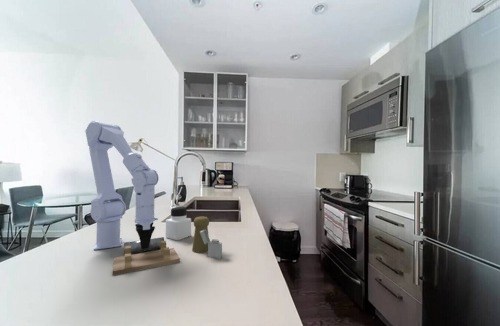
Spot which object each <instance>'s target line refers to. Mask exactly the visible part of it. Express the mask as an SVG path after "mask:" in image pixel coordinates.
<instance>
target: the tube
mask: <svg viewBox="0 0 500 326" xmlns="http://www.w3.org/2000/svg"><path fill="white" fill-rule="evenodd" d="M160 241H165V236H162V237H156V238H151V240H150V245H149V248H146V249H142V248H141V244H140V239H139V240H133V241H127V242H126V241H125V242H123V243H124V244H123V245H124V246H123V254H124V255H125V246H131V254H134V253H136V254H137V253H143V252H149V251H155V250H160Z"/></svg>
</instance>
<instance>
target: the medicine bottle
mask: <svg viewBox="0 0 500 326" xmlns="http://www.w3.org/2000/svg"><path fill="white" fill-rule="evenodd" d="M187 214H188V213H187V207H185V206H183V205H182V206H181V205H180V206H173V207H172V208H171V209H170V218H168V219H166V220H165V238H166V239H170V240H173V241H174V240H175V241H180V240H183V239H186V238H189V237H191V236H192V218H190V217H187ZM188 236H189V237H188Z"/></svg>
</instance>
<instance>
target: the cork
mask: <svg viewBox="0 0 500 326" xmlns="http://www.w3.org/2000/svg"><path fill="white" fill-rule="evenodd" d="M193 219H194V220H193V225H194V227H195V228H194V232H193V233H194V235H193V241H192V248H191V251H192V252H193V253H197V254H200V253H202V254H203V253H208V243H207V244H204V242H203V239H202V237H201V234H200V232H201V231H203V230H205V229H206V231H207V234H208V236H209V228H208V226H209V225H210V220H209V218H208V217H207V216H196V217H195V218H193ZM209 237H210V236H209Z"/></svg>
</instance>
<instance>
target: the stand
mask: <svg viewBox="0 0 500 326" xmlns="http://www.w3.org/2000/svg"><path fill="white" fill-rule="evenodd" d="M180 262H181V258H180V256H179V254H178V253H177V251H176V250H175V248H174V247H170V246H169V247H167V241H166V240H164V241H160V249H157V250H151V251H145V252H139V253H136V254H134V253H133V254H132V253H131V246H125V254H124V255H122V256H121V255H120V256H117V257H114V258H113V265H112V271H111V273H112V276H116V275H120V274H126V273H130V272H135V271H140V270H146V269H151V268H155V267H160V266H161V267H162V266H166V265H171V264H176V263H180Z"/></svg>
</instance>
